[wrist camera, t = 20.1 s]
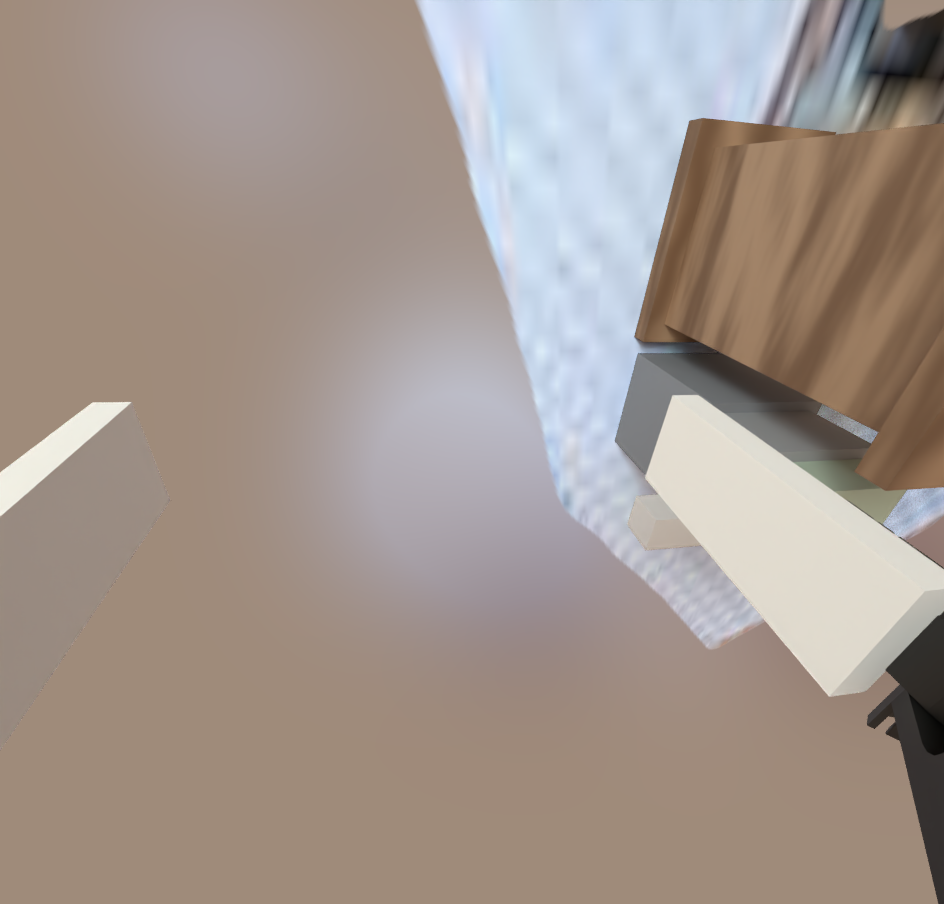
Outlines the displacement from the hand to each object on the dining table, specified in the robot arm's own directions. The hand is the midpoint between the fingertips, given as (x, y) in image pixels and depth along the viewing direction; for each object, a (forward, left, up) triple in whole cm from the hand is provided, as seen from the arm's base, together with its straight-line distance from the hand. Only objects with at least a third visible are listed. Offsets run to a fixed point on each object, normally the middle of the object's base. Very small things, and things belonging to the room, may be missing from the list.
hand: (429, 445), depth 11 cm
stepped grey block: (+3, +37, -36) cm, 52 cm away
